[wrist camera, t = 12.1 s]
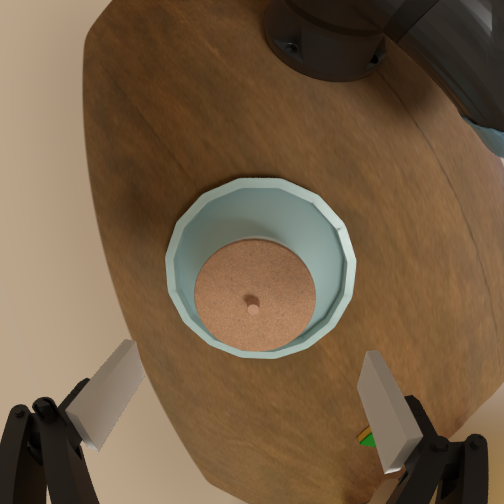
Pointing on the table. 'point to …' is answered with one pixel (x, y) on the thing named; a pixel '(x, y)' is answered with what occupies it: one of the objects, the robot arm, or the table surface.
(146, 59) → the table surface
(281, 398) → the table surface
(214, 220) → the round tray
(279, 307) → the lidded jar
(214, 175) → the table surface
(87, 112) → the table surface
